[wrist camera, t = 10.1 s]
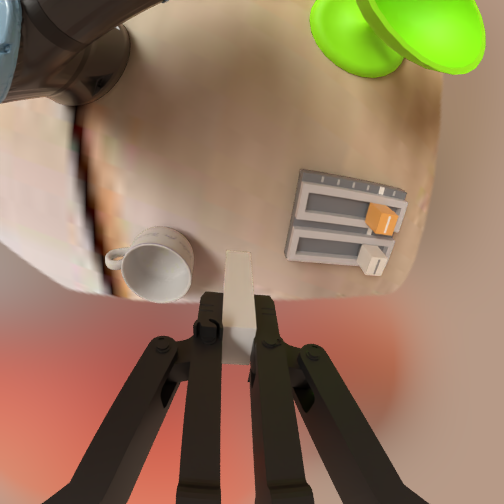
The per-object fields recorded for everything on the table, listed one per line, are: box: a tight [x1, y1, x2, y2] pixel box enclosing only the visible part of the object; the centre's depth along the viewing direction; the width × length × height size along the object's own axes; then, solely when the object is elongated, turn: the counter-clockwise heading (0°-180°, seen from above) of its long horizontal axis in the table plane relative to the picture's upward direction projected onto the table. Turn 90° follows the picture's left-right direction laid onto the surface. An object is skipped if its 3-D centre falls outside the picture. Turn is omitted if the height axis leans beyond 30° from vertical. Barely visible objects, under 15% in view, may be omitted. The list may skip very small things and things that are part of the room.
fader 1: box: [365, 202, 398, 236], centre depth 38 cm, size 3×3×5 cm
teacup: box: [105, 226, 194, 303], centre depth 41 cm, size 14×11×8 cm
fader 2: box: [357, 244, 388, 276], centre depth 41 cm, size 3×3×5 cm
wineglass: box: [309, 0, 485, 78], centre depth 20 cm, size 16×16×18 cm
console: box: [284, 169, 408, 268], centre depth 42 cm, size 14×18×3 cm
